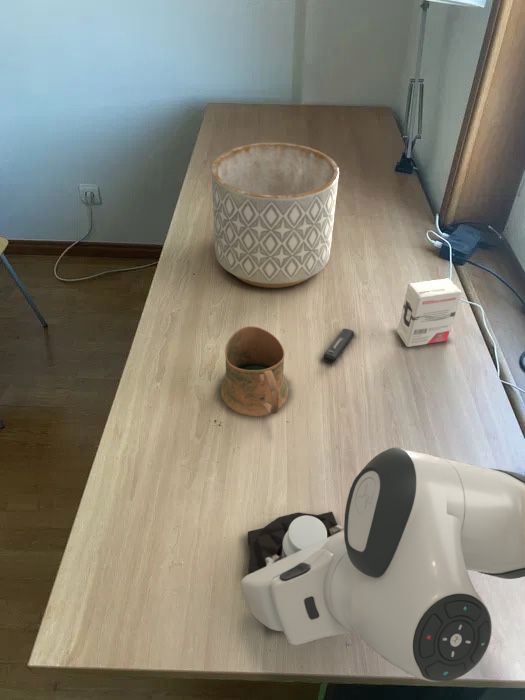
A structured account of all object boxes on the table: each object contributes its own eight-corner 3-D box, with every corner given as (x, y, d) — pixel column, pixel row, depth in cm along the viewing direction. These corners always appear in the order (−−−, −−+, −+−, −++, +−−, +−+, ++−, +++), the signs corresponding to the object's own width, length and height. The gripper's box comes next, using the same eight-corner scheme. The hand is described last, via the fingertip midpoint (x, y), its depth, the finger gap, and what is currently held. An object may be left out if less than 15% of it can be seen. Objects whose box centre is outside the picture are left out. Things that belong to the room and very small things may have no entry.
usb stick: (342, 331, 110) (343, 325, 109) (355, 336, 109) (356, 330, 108) (321, 360, 104) (322, 354, 103) (334, 365, 103) (335, 359, 102)
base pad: (374, 609, 70) (377, 600, 68) (265, 640, 67) (266, 631, 66) (334, 512, 80) (336, 503, 78) (238, 535, 77) (238, 526, 76)
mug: (238, 450, 88) (237, 398, 80) (215, 374, 100) (211, 322, 92) (308, 436, 90) (313, 383, 82) (277, 362, 103) (279, 311, 95)
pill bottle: (303, 543, 77) (308, 502, 70) (333, 574, 73) (341, 535, 67) (271, 568, 74) (273, 528, 67) (301, 602, 71) (306, 564, 64)
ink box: (435, 325, 111) (450, 276, 104) (447, 341, 108) (463, 291, 100) (396, 331, 110) (407, 282, 102) (406, 348, 106) (419, 298, 98)
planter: (285, 310, 114) (290, 211, 99) (192, 266, 125) (184, 171, 110) (349, 256, 129) (362, 163, 114) (261, 221, 141) (262, 132, 126)
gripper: (428, 510, 61) (365, 492, 74) (258, 592, 54) (222, 556, 67) (445, 566, 61) (379, 537, 74) (278, 654, 54) (238, 606, 67)
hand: (303, 547), depth 71 cm, fingers open, 8 cm apart
